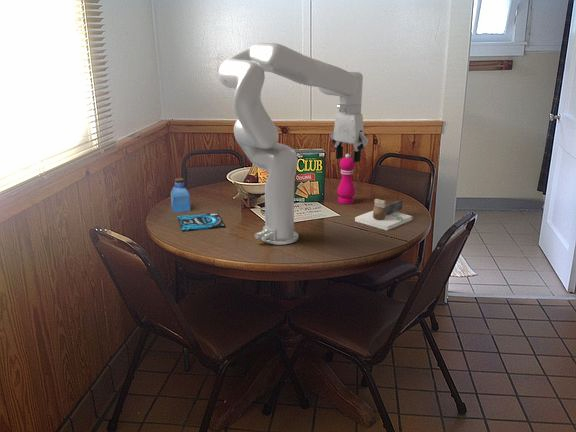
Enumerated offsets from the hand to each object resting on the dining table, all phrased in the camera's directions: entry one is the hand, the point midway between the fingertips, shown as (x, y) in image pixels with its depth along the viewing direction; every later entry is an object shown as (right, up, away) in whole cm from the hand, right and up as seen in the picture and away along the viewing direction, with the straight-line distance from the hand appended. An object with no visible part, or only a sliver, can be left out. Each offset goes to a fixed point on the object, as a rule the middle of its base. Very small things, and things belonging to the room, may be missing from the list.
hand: (347, 159), depth 190 cm
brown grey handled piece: (+16, -19, +9) cm, 26 cm away
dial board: (+14, -22, +7) cm, 27 cm away
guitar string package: (-52, -23, +4) cm, 57 cm away
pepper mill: (+2, -14, +29) cm, 32 cm away
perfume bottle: (-63, -17, +18) cm, 68 cm away
